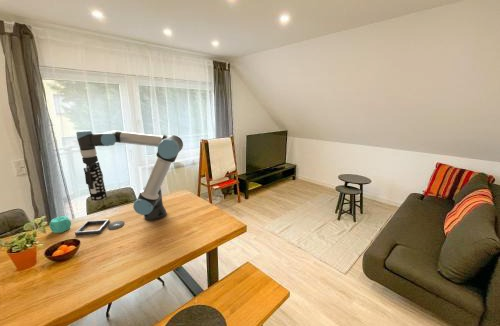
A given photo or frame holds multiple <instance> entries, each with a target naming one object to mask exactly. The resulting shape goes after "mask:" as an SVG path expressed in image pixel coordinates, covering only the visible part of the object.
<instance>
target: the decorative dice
mask: <svg viewBox="0 0 500 326" xmlns="http://www.w3.org/2000/svg"><path fill="white" fill-rule="evenodd" d="M48 227H49V229H50V230H51V232H53V234H62V233H64V231H65V232H66V230H67V231H68V230H70V228H71V227H72V222H71V219H70V218H69V217H68V216H66V215H65V216H64V215H61V216H57V217H54V218H52V219H51V220H50V222H49V226H48ZM61 232H62V233H61Z"/></svg>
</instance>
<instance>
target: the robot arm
mask: <svg viewBox="0 0 500 326" xmlns="http://www.w3.org/2000/svg"><path fill="white" fill-rule="evenodd" d="M76 139H77V143H78V147H79V152H80V155H81V159H82V163H83V164H85V165H86V167H84V168H83V172H84V179H85V184H86V185H88V184H89V186H90V190H91V194H95V193H97V192H96V188H95V184H94V183H93V175H91V174H90V170H94V168H97V167H100V168H101V165H100V162H99V158H98V155H97V150H96V147H109V146H111V147H112V146H114V145H115V144H116V143H117V144H118V143H119V144H127V145H129V144H131V145H137V146H138V145H139V146H148V147H154V148H155V147H156V148H157V152H156V154H155V156H156V157H157V158H156V161H155V164H154V166H153V168H152V170H151V173H150V176H149V178H148V180H147V182H146V184H145V186H144V187H143V189H141V190H140V192H139V195H138V197H137V199H136V200H135V201H134V202H133V210H134V211H135V213H136V214H138V215H141V216H143V218H144V220H145V221H151V222H153V221H158V220H161V219H163V218H164V217H166V215H167V210H166V207H165V205H164V204H163V196H162V195H163V194H162V185H163V183H164V180H165V178H166V176H167V173H168V171H169V169H170V168H171V167H170V166H171V165H172V163H175V161H176V159H177V157H178V155H179V153H180V152H181V151H182V149H183V147H184V141H183V139H182V138H180V137H179V136H178V135H172V134H171V135H170V134H162V135H158V134H157V135H156V134H155V135H154V134H145V133H140V132H139V133H138V132H130V131H129V132H127V131H122V130H120V129H119V130H118V129H112V130H110V131H106V132H102V133H101V132H100V133H93V132H92V130H90V129H89V130H86V129H85V130H84V129H83V130H78V131H76ZM101 173H102V177H103V178H104V175H103V171H102V170H101Z"/></svg>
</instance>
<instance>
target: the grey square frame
mask: <svg viewBox="0 0 500 326" xmlns="http://www.w3.org/2000/svg"><path fill="white" fill-rule="evenodd" d="M109 224H111V221H110V219H109V218H107V219H95V220H94V219H93V220H86V221H85V222H84V223H83V224H82V225H80V227H79V228H78V229H77V230H75V232H74V234H75V237H78V236H80V237H81V236H92V235H101V234H102V232H103V231H104V230H105V229H106V228H107V226H108V225H109ZM90 225H91V226H92V225H101V226H100V228H98V229H94V230H93V229H91V230H85V229H86V228H87V227H88V226H90Z"/></svg>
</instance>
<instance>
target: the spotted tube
mask: <svg viewBox="0 0 500 326" xmlns="http://www.w3.org/2000/svg"><path fill="white" fill-rule="evenodd" d="M101 171H102V169H101V166H100V167H97V168H94V170H90V174H91V175H93V183H94V184H95V188H96V192H97V193H95V194H91V190H90V186H89V184H87V187H88V193H89V194H90V195H89V196H90V199H91V201H92V202H97V201H98V202H99V201H102V200H105V199H106V198H107V197H108V196H107V191H106V188H105V187H106V186H105V182H104V176H103V177H102V174H103V172H102V173H101Z"/></svg>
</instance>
